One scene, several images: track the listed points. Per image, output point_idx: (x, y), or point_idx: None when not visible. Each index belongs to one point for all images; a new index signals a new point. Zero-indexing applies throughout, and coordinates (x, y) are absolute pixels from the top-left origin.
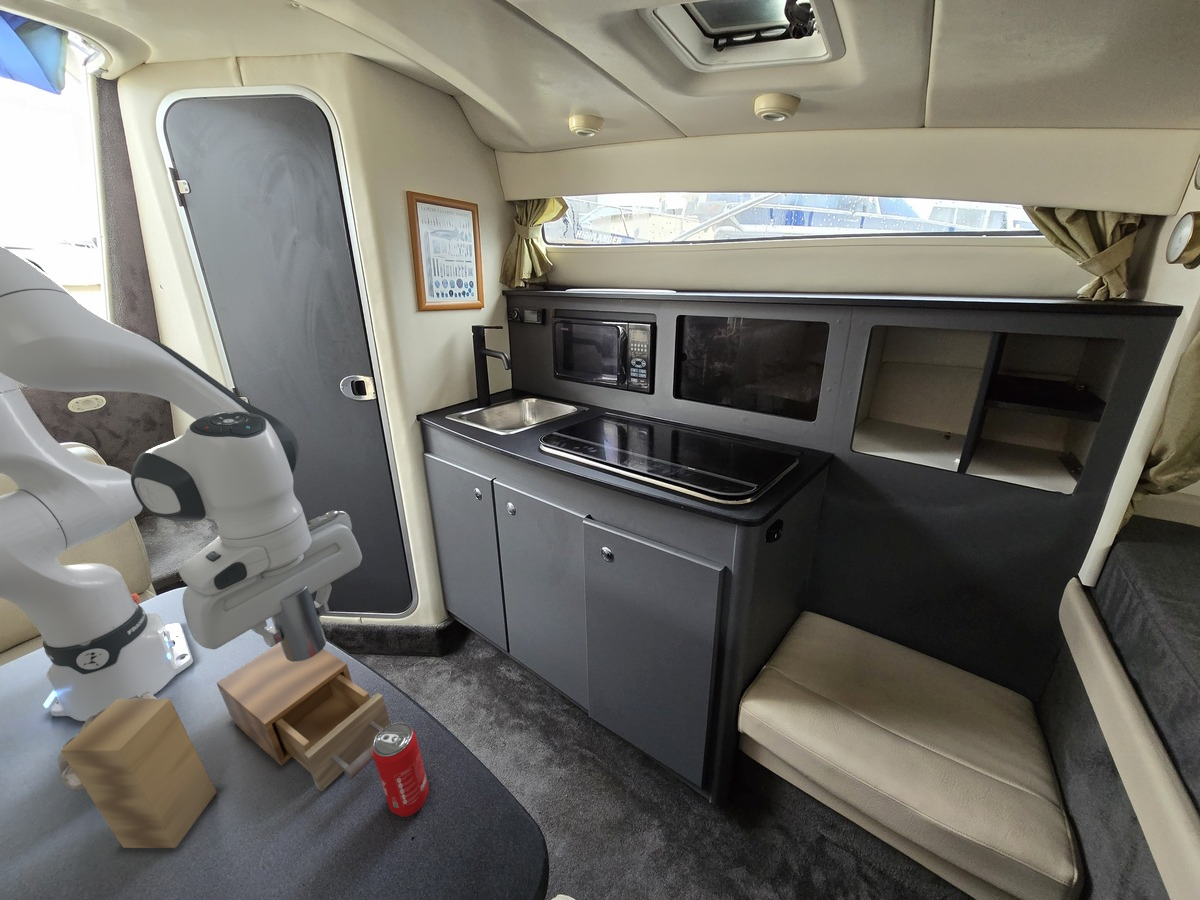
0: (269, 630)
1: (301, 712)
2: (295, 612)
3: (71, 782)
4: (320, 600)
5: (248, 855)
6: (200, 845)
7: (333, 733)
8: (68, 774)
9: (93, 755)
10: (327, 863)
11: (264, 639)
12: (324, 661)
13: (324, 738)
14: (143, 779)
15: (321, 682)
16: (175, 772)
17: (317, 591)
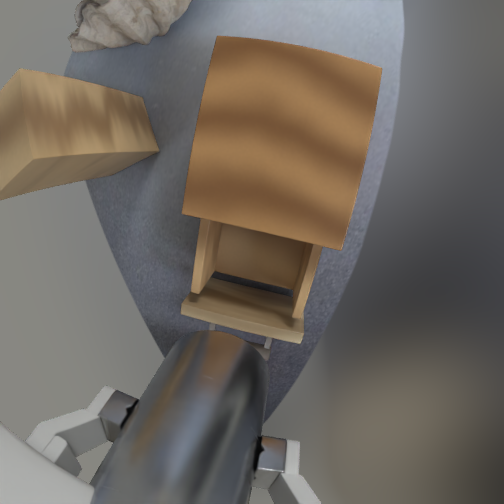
0: (105, 425)
1: None
2: None
3: (73, 47)
4: (275, 492)
5: (136, 253)
6: (122, 196)
7: (220, 320)
8: (72, 39)
9: None
10: (165, 327)
11: (100, 394)
12: (334, 199)
13: (209, 314)
14: (42, 187)
15: (287, 237)
16: (88, 168)
17: (295, 501)
